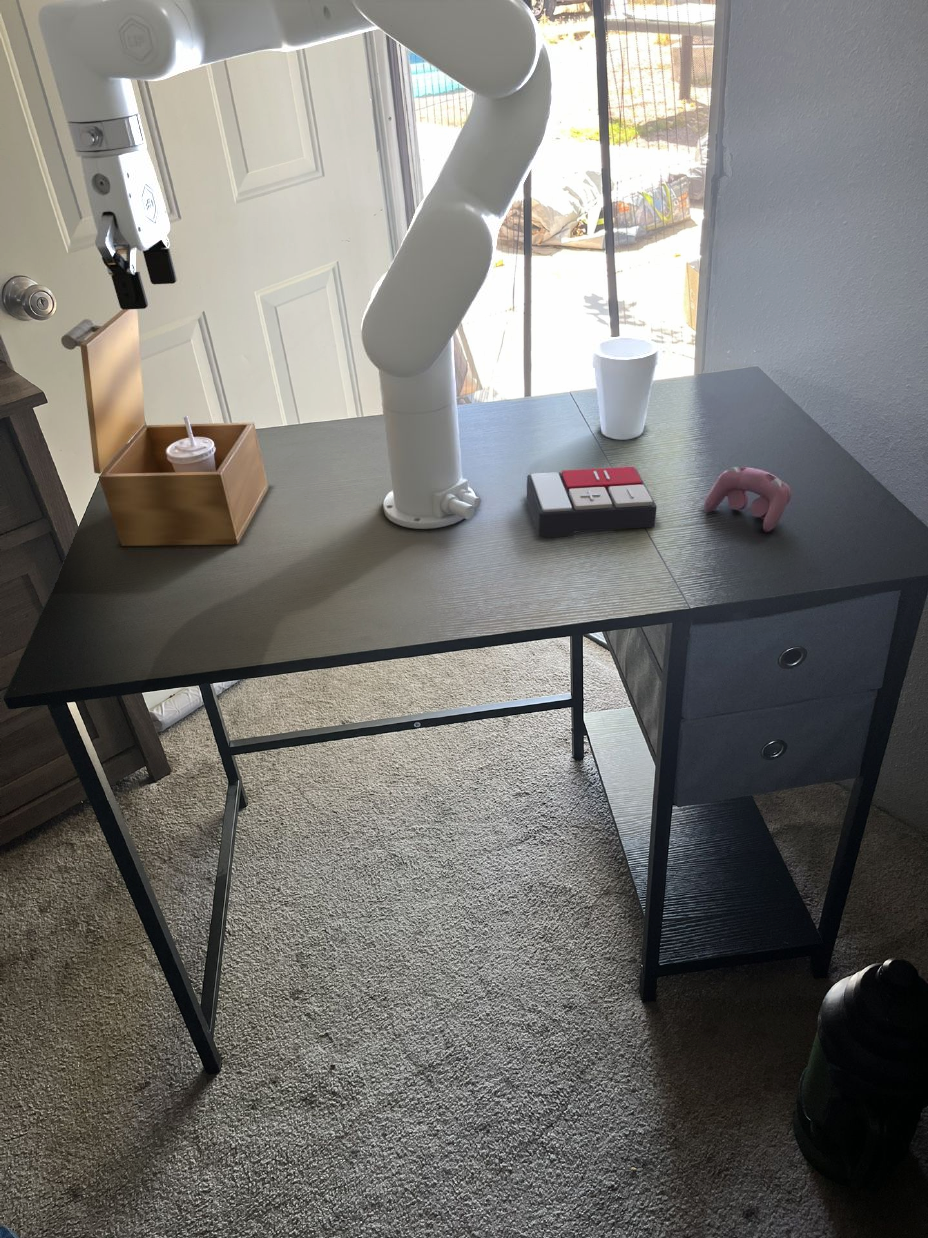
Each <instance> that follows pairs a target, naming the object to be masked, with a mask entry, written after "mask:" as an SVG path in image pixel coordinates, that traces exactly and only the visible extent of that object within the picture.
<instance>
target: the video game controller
mask: <svg viewBox="0 0 928 1238" xmlns="http://www.w3.org/2000/svg"><path fill="white" fill-rule="evenodd" d="M747 492H750V493H753V494H756V495H758V496H759V497H757V498H755V499H754V500H753V501H752V503H751V504H750V507H749V509H750V512H751V514H752V515H753V516H754V517H757V518H763V523H762V529H763V531H764V532H765V533H769V532H771V531H772V530H774V529H775V527H776V526H777V524H778V523H779V521H780V520H781V518H782V516H783V514H784V512H785V509H786V506H787V505H788V504H789V502H790V501H791V499H792V489H791V487H789V485H788V484H787V483H786V482H784V481H782V480H781V479H780V478H779V477H777V476H776V475H774V474H773V473H770V472H769V471H766V470H763V469H760V468H756V467H748V466H747V467H745V466H733V467H729V468H728V469H726V470H724V471H723V472H721V474H720V475H719V476H718V478H717V479H716V480H715V482H714V484H713V486H712V487H711V489H710V491H709V492H708V494H707V495H706V497H705V501H704V504H703V510H704V512H705V513H707V514H708V513H712V512H713V511H714V510H716V509H717V508H718V506H719V505H720V504H721V503H722V502H723V500H725V498H726V497H727V502H728V506H729V507H730V508H731V509H732V510H735V511H736V510H737V511H742V510H745V508H746V507H748V504H749V497H748V494H747Z"/></svg>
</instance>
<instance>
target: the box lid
mask: <svg viewBox="0 0 928 1238" xmlns="http://www.w3.org/2000/svg"><path fill="white" fill-rule="evenodd" d="M139 329H140V327H139V316H138V309H127V310H123V309H121V310H120V311H119V312H117V313H116V314H115V315H113V317H111V318H110V319H109V320H108V321H106V322H105V323H104V324H103V325H96V323H95V322H94V321H92V320H91V319H90V318H89V319H88V318H84V319H83V320H82V321H80V322H78V324H76V325H75V326H73V328H71V329H70V330H68V331H67V332H66V333H65V334H64V335H63V336H61V339H60V341H61V342H60V343H61V345H62V347H64V349H67V350H70V351H71V350H74V349H75V348H76V347H80V355H81V363H82V372H83V381H84V383H83V384H84V393H85V399H86V400H85V401H86V408H87V409H86V410H87V419H88V427H89V437H90V445H91V453H92V463H93V464H92V465H93V472H94V474H98V475H101V474H102V472H103V471H104V470H105V469H106V468H107V467H108V466H109V464H110V463H111V462H112V461H113V460H114V459H115V458H116V456H117V455H118V454H119V453H120V452H121V451H122V449H123V448H124V447H125V446H126V445H127V444H128V443H129V441H130V440H131V439H132V438H133V437H134V436H135V435H136V433H137V432H138V431H139V430H140V429H141V428H142V427H143V426H144V425H145V423H146V417H145V416H146V415H145V401H144V400H145V399H144V389H143V387H144V386H143V385H144V384H143V375H142V374H143V373H142V359H141V358H142V357H141V345H140V344H141V343H140V330H139Z"/></svg>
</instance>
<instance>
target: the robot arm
mask: <svg viewBox="0 0 928 1238" xmlns="http://www.w3.org/2000/svg"><path fill="white" fill-rule="evenodd" d="M37 18H38V24H39V28H40V32H41V36H42V39H43V43H44V46H45V50H46V53H47V56H48V60H49V64H50V67H51V71H52V75H53V78H54V80H55V85H56V88H57V93H58V96H59V99H60V103H61V106H62V110H63V113H64V116H65V117H64V118H65V120H66V123H67V127H68V130H69V133H70V138H71V140H72V144H73V148H74V152H75V155H76V156H77V157H79V158H80V161H81V166H82V174H83V179H84V183H85V184H84V185H85V188H86V193H87V197H88V202H89V206H90V211H91V215H92V218H93V223H94V226H95V229H96V238H95V242H94V243H95V247H96V249H97V250H98V252H99V254H100V256H101V261H102V263H103V264H104V265H105V266H106V269H107V273H108V275H109V276H111V280H112V283H113V287H114V290H115V294H116V298H117V302H118V305H119V308H120V309H121V310H122V309H123V310H127V309H137V310H145V309H146V308H147V307H148V306H149V302H148V298H147V295H146V292H145V288H144V283H143V281H142V276H141V272H140V271H136V261H137V250H138V251H139V252H142V254H143V258H144V261H145V266H146V269H147V273H148V277H149V282H150V283H151V284H152V285H171V284H175V283H177V281H178V279H177V275H176V271H175V266H174V263H173V258H172V254H171V251H170V240H169V237H168V236H167V235H168V234H169V232H170V231H171V224H170V223H171V222H170V220H169V215H168V212H167V209H166V204H165V201H164V197H163V194H162V191H161V188H160V184H159V181H158V177H157V174H156V172H155V168H154V165H153V163H152V160H151V156H150V154H149V152H148V150H147V148H148V147H147V142H146V138H145V134H144V130H143V127H142V122H141V117H140V114H139V109H138V105H137V102H136V97H135V93H134V88H133V84H132V81H131V80H134V81H144V82H157V81H162V80H166V79H168V78H170V77H173V76H176V75H178V74H180V73H183V72H186V71H190V70H194V69H197V68H200V67H203V66H207V65H211V64H214V63H218V62H223V61H227V60H229V59H230V60H231V59H233V58H237V57H241V56H246V55H250V54H254V53H255V54H256V53H260V52H265V51H279V52H291V51H297V50H302V49H306V48H310V47H313V46H317V45H321V44H324V43H327V42H332V41H336V40H340V39H344V38H347V37H351V36H356V35H359V34H363V33H367V32H371V31H375V30H380V31H381V32H383V33H384V34H386V35H387V36H388V37H389V38H391V39H392V40H393V41H395V42H397V43H398V44H399V45H401V46H402V47H404V48H405V49H406V50H408V51H409V52H411V53H412V54H414V55H415V56H417V57H418V58H420V59H422V60H423V61H424V62H426V63H427V64H429V65H430V66H432V67H433V68H434V69H436V70H437V71H439V72H440V73H442V74H443V75H445V76H446V77H447V78H449V79H450V80H452V81H453V82H454V83H457V84H458V85H459V86H461V87H463V88H464V89H466V90H467V91H469V92H471V93H473V100H472V103H471V108H470V111H469V113H468V116H467V117H466V120H465V122H464V124H463V126H462V128H461V129H460V132H459V134H458V135H457V138H456V139H455V142H454V144H453V147H452V149H451V151H450V153H449V154H448V157H447V158H446V160H445V162H444V164H443V167H442V168H441V170H440V172H439V174H438V176H437V177H436V179H435V181H434V182H433V185H432V186H431V188H430V189H429V191H428V192H427V194H426V195H425V197H424V198H423V199H422V200H421V202H420V203H419V204H418V206H417V208H416V210H415V212H414V215H413V218H412V220H411V223H410V225H409V227H408V230H407V231H406V234H405V236H404V238H403V239H402V242H401V244H400V246H399V248H398V250H397V252H396V253H395V256H394V257H393V260H392V261H391V263H390V265H389V267H388V269H387V271H386V273H384V274H383V275H382V276H381V278H380V279H379V280H378V282H377V283H376V284H375V286H374V288H373V290H372V292H371V295H370V298H369V300H368V303H367V306H366V309H365V311H364V314H363V316H362V321H361V327H360V339H361V343H362V347H363V350H364V352H365V355H366V357H367V358H368V360H369V361H370V362H371V364H372V365H373V366H374V367H375V368H377V370H378V380H379V391H380V400H381V407H382V416H383V424H384V432H385V439H386V448H387V456H388V461H389V462H388V463H389V471H390V480H391V487H392V490H391V491H389V492H388V493H387V494H386V495H385V497H384V499H383V503H382V506H383V513H384V515H385V517H386V518H387V519H388V520H389V521H391V522H392V523H394V524H395V525H398V526H401V527H404V528H408V529H416V530H429V529H430V530H433V529H439V528H445V527H447V526H451V525H454V524H456V523H458V522H461V521H462V520H464V519H465V520H467V521H470V520H472V519H473V518H474V516H475V514H476V508H478V507H480V505H481V501H482V500H481V498H480V497H479V496H476V494H475V491H474V490H473V489H472V488H471V487H470V486H469V482H468V479H466V478H464V477H463V467H462V454H461V442H460V425H459V414H458V402H457V383H456V370H455V356H454V355H455V352H454V350H455V349H454V335H455V333H456V331H457V330H458V328H459V326H460V325H461V324H462V321H463V319H464V318H465V316H466V315H467V313H468V311H469V310H470V308H471V306H472V305H473V303H474V301H475V299H476V298H477V296H478V294H479V293H480V291H481V290H482V287H483V285H484V283H485V281H486V279H487V277H488V275H489V273H490V271H491V269H492V267H493V263H494V260H495V256H496V250H497V239H498V235H499V230H500V228H501V226H502V224H503V222H504V220H505V218H506V216H507V214H508V212H509V211H510V209H511V208H512V205H513V203H514V202H515V200H516V198H517V197H518V194H519V193H520V190H521V189H522V187H523V185H524V183H525V181H526V179H527V177H528V176H529V173H530V171H531V169H532V167H533V165H534V163H535V162H536V160H537V157H538V156H539V154H540V151H541V149H542V146H543V144H544V142H545V139H546V136H547V133H548V130H549V127H550V122H551V118H552V113H553V112H552V111H553V104H554V72H553V65H552V59H551V56H550V52H549V49H548V46H547V43H546V40H545V37H544V35H543V33H542V31H541V28H540V26H539V23H538V21H537V19H536V17H535V15H534V14H533V11H532V9H530V7H529V6H528V4H526V2H525V1H524V0H61V1H54V2H49V3H46V4H44V5H42V6H41V7H40V9H39V12H38V17H37ZM122 255H125V258H124V257H123V256H122Z"/></svg>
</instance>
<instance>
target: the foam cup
mask: <svg viewBox="0 0 928 1238" xmlns="http://www.w3.org/2000/svg"><path fill="white" fill-rule="evenodd" d="M591 357H592V358H591V360H592V361H591V362H592V363H591V364H592V368H593V370H594V377H595V385H596V386H595V387H596V394H597V405H598V413H599V421H600V422H599V423H600V428H601V434H602V435H603V436H605V437H606V438H610V439H613V440H630V439H635V438H637V437H639V436H641V435H642V433H643V432H644V428H645V423H646V419H647V413H648V408H649V403H650V398H651V392H652V388H653V381H654V377H655V372H656V368H657V366H658V360H659V359H658V358H659V347H658V344H657V343H656V342H655V341H653V340H651V339H649V338H644V337H640V336H639V337H638V336H616V337H608V338H605V339H602V340H599V341H597V342H596V343H595V344H594V345H592V356H591Z"/></svg>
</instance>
